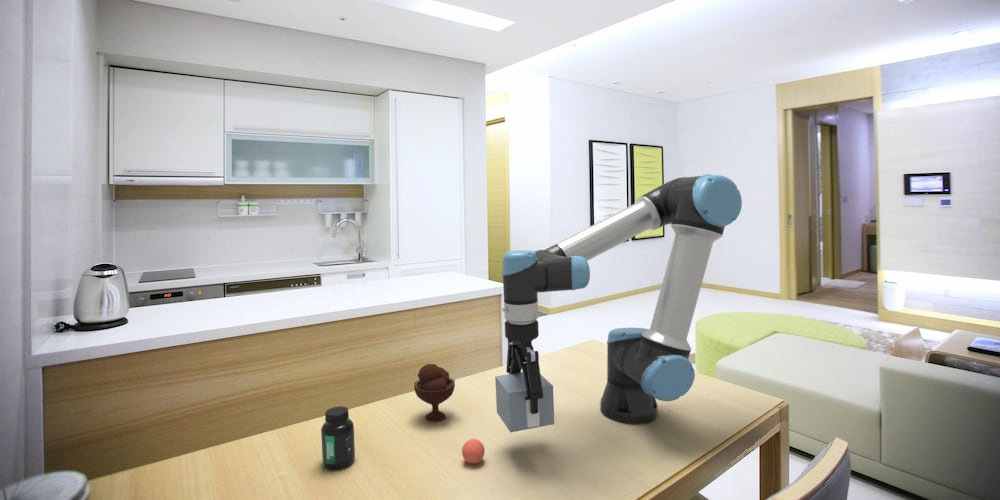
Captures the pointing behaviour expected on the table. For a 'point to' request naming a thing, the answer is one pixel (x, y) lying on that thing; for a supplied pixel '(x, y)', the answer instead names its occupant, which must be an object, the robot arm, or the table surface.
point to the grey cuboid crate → (521, 402)
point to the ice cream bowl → (434, 389)
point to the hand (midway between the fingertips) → (524, 415)
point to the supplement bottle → (337, 439)
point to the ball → (473, 451)
